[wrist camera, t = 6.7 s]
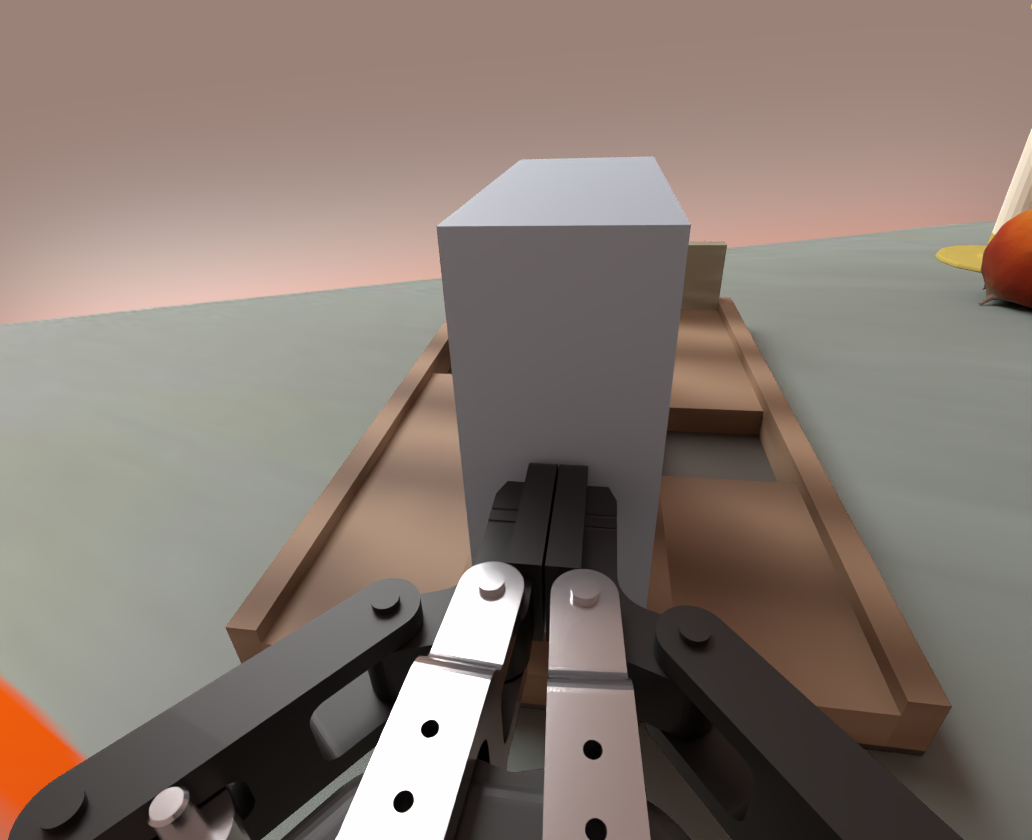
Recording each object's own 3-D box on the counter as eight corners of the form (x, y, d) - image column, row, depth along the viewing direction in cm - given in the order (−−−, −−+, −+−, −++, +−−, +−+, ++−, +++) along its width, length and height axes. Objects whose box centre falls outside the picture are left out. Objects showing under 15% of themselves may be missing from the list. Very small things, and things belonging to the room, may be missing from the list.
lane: (467, 320, 45) (460, 242, 42) (726, 325, 42) (739, 241, 39) (245, 673, 18) (181, 526, 15) (923, 755, 15) (1018, 594, 12)
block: (528, 426, 28) (520, 159, 22) (631, 431, 27) (653, 156, 21) (478, 625, 18) (436, 226, 11) (642, 641, 17) (690, 225, 11)
